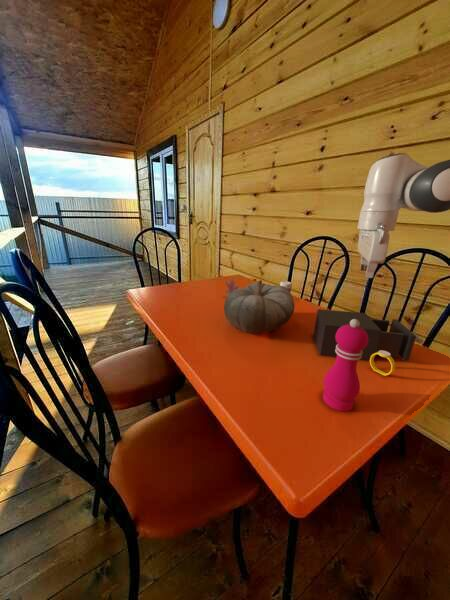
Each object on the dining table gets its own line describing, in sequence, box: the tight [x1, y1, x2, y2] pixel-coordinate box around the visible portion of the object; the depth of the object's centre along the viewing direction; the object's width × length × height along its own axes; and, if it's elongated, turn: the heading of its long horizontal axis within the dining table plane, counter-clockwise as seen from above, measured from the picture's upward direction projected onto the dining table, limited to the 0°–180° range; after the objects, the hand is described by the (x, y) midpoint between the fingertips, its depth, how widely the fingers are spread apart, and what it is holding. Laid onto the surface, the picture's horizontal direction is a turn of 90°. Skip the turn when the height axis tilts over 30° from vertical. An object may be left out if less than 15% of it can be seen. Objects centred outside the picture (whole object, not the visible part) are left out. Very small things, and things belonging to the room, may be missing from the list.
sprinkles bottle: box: [279, 280, 293, 294], centre depth 103 cm, size 5×5×14 cm
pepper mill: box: [322, 319, 368, 412], centre depth 53 cm, size 7×7×20 cm
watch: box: [369, 350, 396, 377], centre depth 67 cm, size 6×3×6 cm, turn 28°
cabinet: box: [313, 308, 382, 362], centre depth 78 cm, size 15×13×10 cm
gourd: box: [223, 280, 296, 336], centre depth 90 cm, size 25×25×17 cm
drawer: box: [370, 318, 424, 362], centre depth 77 cm, size 18×12×8 cm, turn 80°
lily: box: [223, 275, 240, 298], centre depth 120 cm, size 12×12×10 cm
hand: (365, 273), depth 73 cm, fingers open, 8 cm apart
